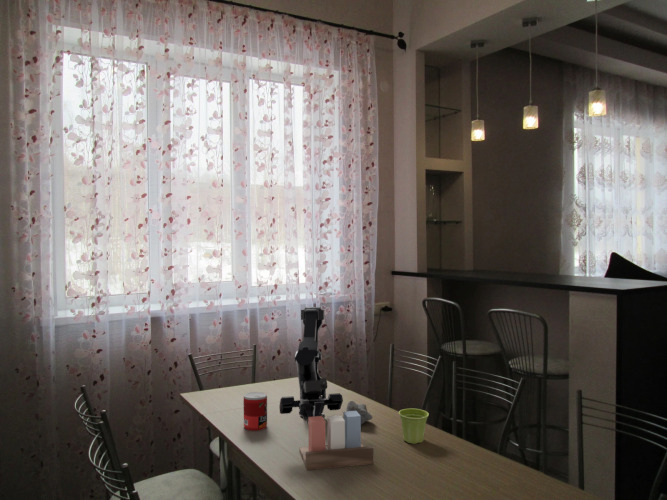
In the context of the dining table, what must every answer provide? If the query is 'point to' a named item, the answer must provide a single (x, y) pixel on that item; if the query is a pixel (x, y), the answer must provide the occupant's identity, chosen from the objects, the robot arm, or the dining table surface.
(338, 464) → the wooden block stand
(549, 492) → the dining table surface
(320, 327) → the robot arm
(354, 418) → the light blue tall block
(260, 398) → the canned food
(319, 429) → the red rectangular block
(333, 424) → the white tall block
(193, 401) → the dining table surface
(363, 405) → the fossil
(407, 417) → the plant pot
